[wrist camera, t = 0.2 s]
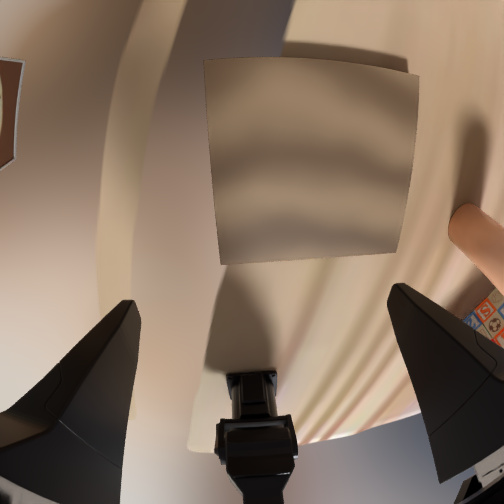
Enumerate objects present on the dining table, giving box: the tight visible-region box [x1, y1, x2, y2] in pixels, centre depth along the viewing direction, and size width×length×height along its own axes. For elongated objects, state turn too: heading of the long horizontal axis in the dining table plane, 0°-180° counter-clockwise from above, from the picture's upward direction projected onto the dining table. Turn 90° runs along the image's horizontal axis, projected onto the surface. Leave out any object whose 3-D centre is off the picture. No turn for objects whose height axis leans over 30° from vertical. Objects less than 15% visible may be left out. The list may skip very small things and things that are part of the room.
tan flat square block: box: [204, 57, 419, 265], centre depth 21 cm, size 16×16×2 cm
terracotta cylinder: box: [448, 203, 504, 296], centre depth 21 cm, size 5×5×10 cm
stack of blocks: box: [463, 288, 504, 348], centre depth 30 cm, size 21×6×12 cm, turn 141°
